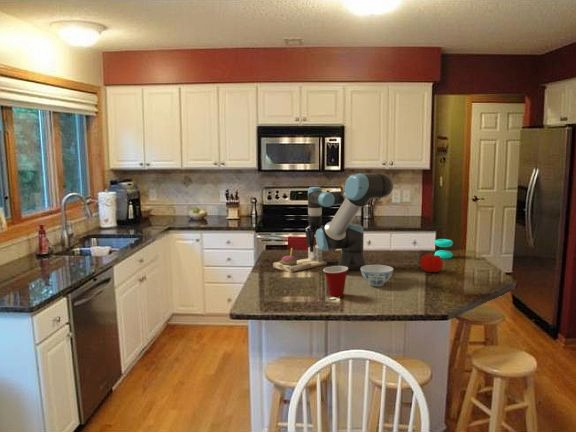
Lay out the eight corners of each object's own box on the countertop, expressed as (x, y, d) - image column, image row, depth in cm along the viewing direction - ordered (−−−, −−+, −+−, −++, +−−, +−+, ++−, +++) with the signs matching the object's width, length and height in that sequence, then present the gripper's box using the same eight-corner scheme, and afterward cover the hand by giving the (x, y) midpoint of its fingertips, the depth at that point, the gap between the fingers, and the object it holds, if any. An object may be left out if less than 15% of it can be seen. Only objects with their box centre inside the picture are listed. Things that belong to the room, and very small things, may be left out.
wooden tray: (327, 264, 272) (327, 249, 271) (290, 272, 255) (290, 256, 254) (308, 259, 283) (308, 245, 282) (273, 267, 267) (272, 252, 266)
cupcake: (299, 267, 266) (299, 245, 264) (292, 271, 258) (292, 248, 257) (285, 266, 270) (285, 244, 268) (278, 269, 262) (277, 247, 261)
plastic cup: (321, 292, 220) (321, 265, 218) (345, 291, 221) (345, 264, 219) (325, 299, 209) (325, 271, 208) (350, 298, 210) (350, 270, 208)
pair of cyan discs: (431, 239, 286) (442, 238, 291) (430, 256, 287) (442, 254, 293) (445, 242, 278) (456, 240, 283) (444, 259, 279) (456, 257, 285)
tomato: (443, 274, 247) (444, 257, 246) (420, 273, 249) (421, 256, 248) (441, 269, 257) (441, 253, 256) (419, 268, 259) (419, 252, 258)
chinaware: (386, 290, 220) (386, 273, 219) (355, 286, 228) (355, 269, 227) (397, 282, 233) (398, 266, 232) (368, 278, 241) (368, 263, 240)
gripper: (320, 213, 281) (320, 253, 284) (299, 215, 270) (299, 258, 273) (330, 214, 275) (330, 255, 278) (308, 217, 265) (309, 260, 268)
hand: (315, 256), depth 276 cm, fingers closed on wooden tray, 3 cm apart
